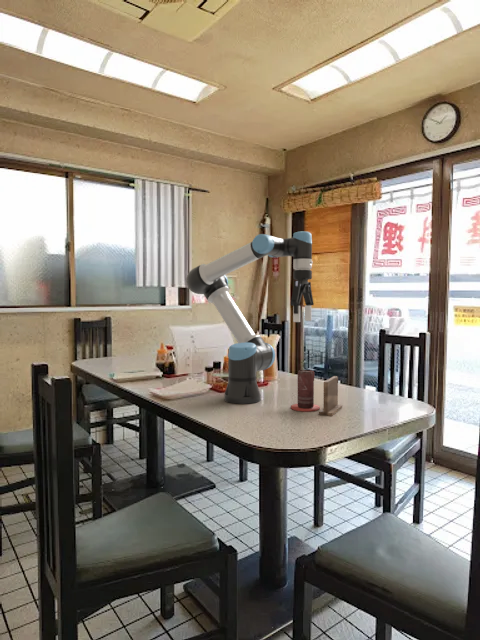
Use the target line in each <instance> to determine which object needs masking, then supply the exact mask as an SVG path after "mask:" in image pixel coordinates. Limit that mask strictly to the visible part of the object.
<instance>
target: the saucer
mask: <svg viewBox="0 0 480 640" xmlns="http://www.w3.org/2000/svg"><path fill="white" fill-rule="evenodd" d="M320 408H321V407H320V405H318V404H315V403H314V406H313V408H309V409H304V408H299V407H298V403H293V404H291V405H290V409H292V410H293V411H296V412H297V411H298V412H302V413H303V412H304V413H305V412H309V413H311V412H317V411H320V410H321V409H320Z"/></svg>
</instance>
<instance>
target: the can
mask: <svg viewBox="0 0 480 640" xmlns="http://www.w3.org/2000/svg"><path fill="white" fill-rule="evenodd" d="M314 383H315V371H314V370H310V369H299V370H298V372H297V404H298V407H299V408H304V409H309V408H313V406H314V404H315V402H314V401H315V400H314V395H315V394H314V393H315V389H314V388H315V387H314V386H315V384H314Z"/></svg>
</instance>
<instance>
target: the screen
mask: <svg viewBox="0 0 480 640" xmlns="http://www.w3.org/2000/svg"><path fill="white" fill-rule="evenodd" d="M338 392H339V376H337V375H333V376H332V377H330V378H328V379H326V380H324V381H323V408H321V409H319V410H318V415H320V416H330V417H333V416H335V414H336V413H338V412H339V411H340V410H342V409H343V405H342V404H339V402H338V401H339V400H338V399H339V393H338Z"/></svg>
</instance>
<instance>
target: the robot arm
mask: <svg viewBox="0 0 480 640" xmlns="http://www.w3.org/2000/svg"><path fill="white" fill-rule="evenodd" d="M292 235H293V236H292V237H289V238H288V237H287V238H280V237H276V236H274V235H273V236H272V235H269V234H264V233H259V234H257V235H256V236H255V237H254V238H253V240H252V241H251V242H249V243H246V244H245V245H243V246H241V247H238V248H237V249H234V250H233V251H230V252H229V253H227V254H224V255H223V256H221V257H219V258H217V259H215V260H212V261H211V262H209V263H207V264H205V263H201V264H199V265H198V266H196V267H193V268H192V269H191V270H190V271H189V272H188V273H187V275H186V278H185V279H186V280H185V283H186V286H187V288H188V290H190V292H192V293H194V294H196V295H204V297H205V299H206V300H207V302H208V303H210V304H213V305H214V307H215V308H216V310H217V312H218V313H219V315H220V316H221V318H222V320H223V321H224V323H225V325H226V326H227V327H228V329H229V331H230V332H231V334H232V335H233V338H234V339H235V340H236V341H237V342H236V343H233V344H231V345H230V346H229V347H228V353H227V360H228V361H227V362H228V370H227V371H228V372H227V373H228V380H227V381H228V382H227V386H226V388H225V391H224V394H223V395H224V398H223V400H224V401H225V402H226V401H227V402H226V403H231V404H236V405H237V404H238V405H240V404H241V405H243V404H255V403H259V402H260V401H261V399H262V397H261V391H260V388H259V385H258V383H257V372H260V371H265V370H267V369H269V368H271V367H272V365H274V363H275V361H276V351H275V349H274V347H273V346H272V345H271V344H270V343H267V342H265V341H264V339H263V338H262V336H261V335H260V334H259V335H258V334H256V333H255V331H254V329H252V327H251V325H250V324H249V322H248V320H246V317H245V316H244V315H243V312H242V311H241V310H240V309H239V306H237V304H236V303H235V300H234V299H233V298H232V296H231V294H230V287H229V279H228V277H227V275H228V274H230V273H232V272H235V271H236V270H238V269H241V268H243V267H245V266H247V265H250V264H251V263H253V262H255V261H258V260H259V259H261V258H263V257H265V256H267V257H269V258H284V257H293V262H292V263H293V264H292V265H293V266H292V267H293V273H292V274H293V280H294V281H293V289H292V294H291V295H292V296H291V299H290V306H293V307H292V309H293V310H292V313H293V315H292V318H293V320H292V321H293V323H301V305H300V303H301V300H302V297H303V300H304V302H305V305H304V321H305V322H311V321H312V306H314V304H315V303H314V299H313V297H314V296H313V293H312V292H313V291H312V282H311V281H309V280H312V278H313V271H312V270H311V269H312V268H313V263H314V262H313V259H312V258H313V256H312V255H313V237H312V233H311V232H310V231H297V232H294V233H293V234H292Z"/></svg>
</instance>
